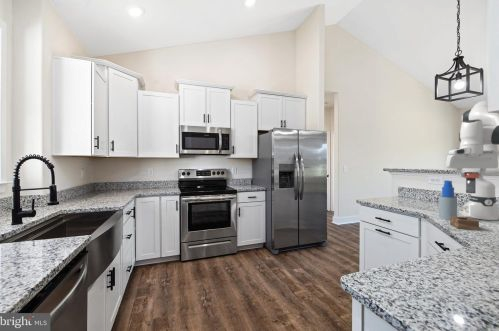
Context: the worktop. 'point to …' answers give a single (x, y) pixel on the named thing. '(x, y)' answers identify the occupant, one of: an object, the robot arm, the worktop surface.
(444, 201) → the spray bottle
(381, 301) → the worktop surface
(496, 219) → the robot arm
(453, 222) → the block
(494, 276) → the worktop surface
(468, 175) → the copper cross-head bolt
